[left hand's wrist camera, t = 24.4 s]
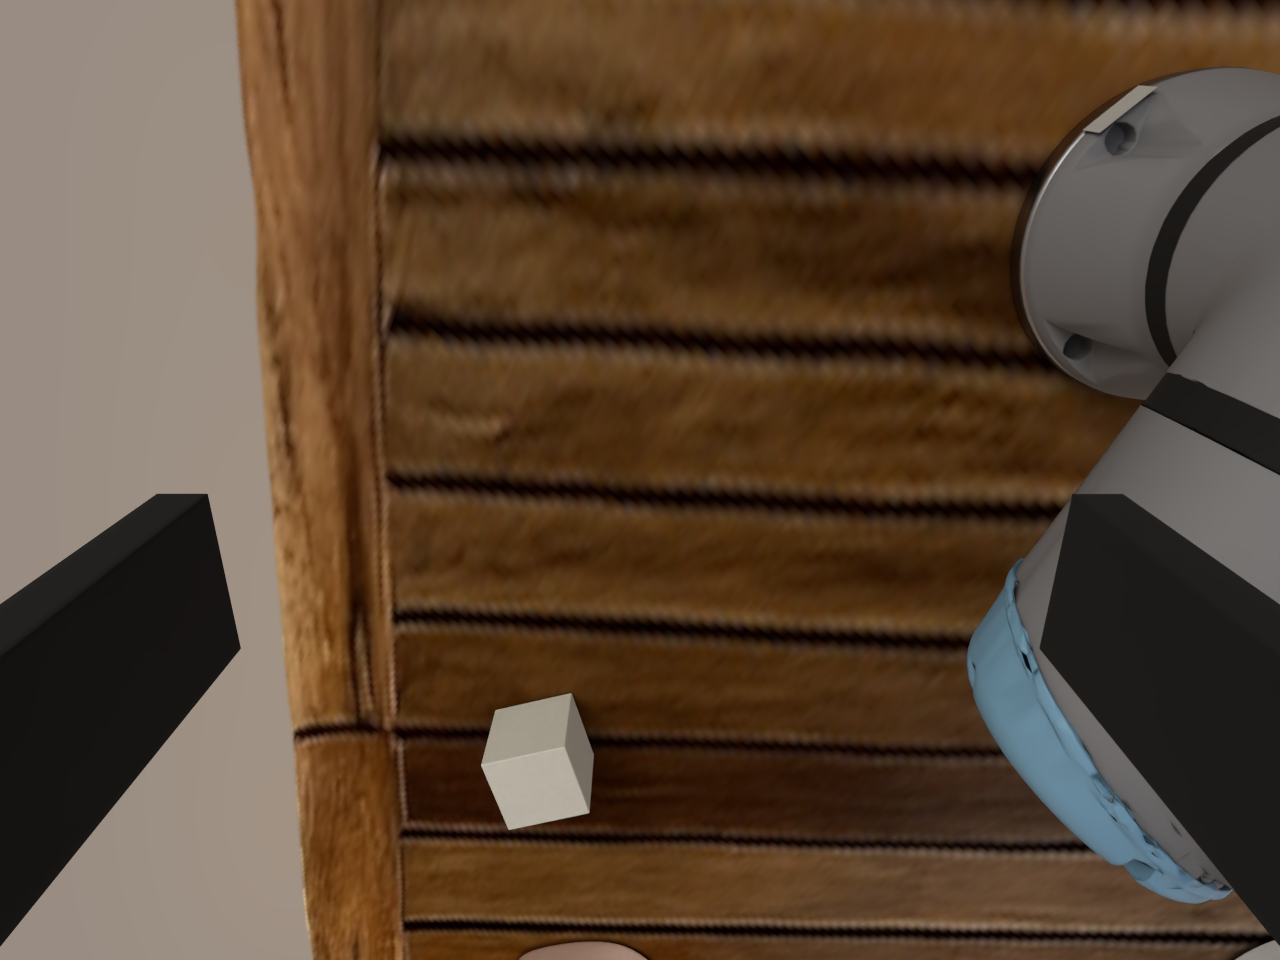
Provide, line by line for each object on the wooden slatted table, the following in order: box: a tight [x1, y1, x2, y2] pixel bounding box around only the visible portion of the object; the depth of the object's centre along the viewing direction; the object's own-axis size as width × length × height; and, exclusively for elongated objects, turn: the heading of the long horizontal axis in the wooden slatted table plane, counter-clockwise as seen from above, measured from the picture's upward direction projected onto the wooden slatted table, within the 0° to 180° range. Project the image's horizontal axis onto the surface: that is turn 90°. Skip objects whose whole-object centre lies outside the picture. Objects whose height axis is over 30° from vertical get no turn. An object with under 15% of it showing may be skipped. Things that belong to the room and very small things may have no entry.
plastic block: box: [481, 693, 594, 830], centre depth 49 cm, size 5×5×5 cm
